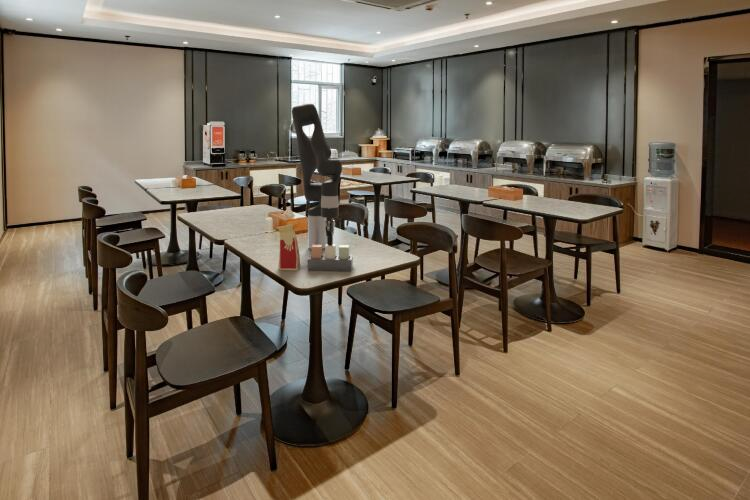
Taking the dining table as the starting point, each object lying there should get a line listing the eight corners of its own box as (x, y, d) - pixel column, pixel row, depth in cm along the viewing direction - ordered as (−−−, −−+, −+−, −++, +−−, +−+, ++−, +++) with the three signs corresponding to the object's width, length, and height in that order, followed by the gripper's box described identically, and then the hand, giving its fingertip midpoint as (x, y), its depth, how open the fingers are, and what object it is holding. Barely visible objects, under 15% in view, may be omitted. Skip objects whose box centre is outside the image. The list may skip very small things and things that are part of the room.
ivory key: (325, 262, 223) (325, 246, 221) (326, 260, 227) (326, 243, 225) (334, 262, 223) (334, 246, 221) (335, 260, 227) (335, 244, 225)
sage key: (338, 263, 223) (338, 247, 221) (339, 261, 227) (339, 245, 225) (348, 263, 223) (348, 247, 221) (349, 261, 227) (349, 245, 225)
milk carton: (300, 264, 230) (299, 221, 226) (297, 270, 221) (296, 225, 217) (279, 264, 230) (278, 221, 225) (276, 270, 221) (275, 225, 216)
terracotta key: (311, 263, 223) (311, 246, 221) (313, 260, 227) (312, 244, 226) (321, 263, 223) (321, 246, 221) (322, 260, 227) (322, 244, 225)
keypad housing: (307, 270, 222) (307, 259, 220) (310, 265, 230) (310, 254, 229) (351, 271, 221) (351, 260, 220) (352, 265, 230) (352, 255, 229)
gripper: (323, 203, 226) (323, 241, 230) (319, 208, 213) (319, 248, 217) (340, 203, 225) (340, 242, 230) (337, 208, 213) (337, 248, 217)
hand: (330, 245), depth 223 cm, fingers closed
